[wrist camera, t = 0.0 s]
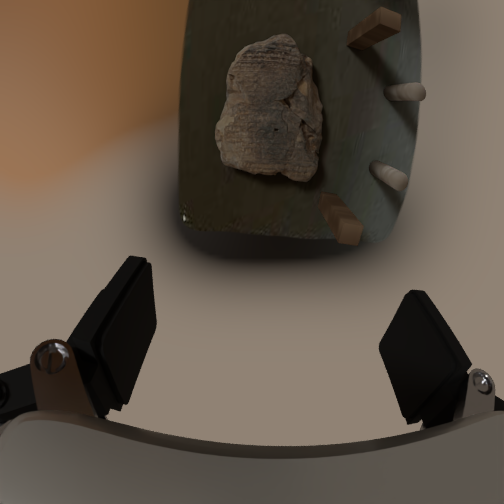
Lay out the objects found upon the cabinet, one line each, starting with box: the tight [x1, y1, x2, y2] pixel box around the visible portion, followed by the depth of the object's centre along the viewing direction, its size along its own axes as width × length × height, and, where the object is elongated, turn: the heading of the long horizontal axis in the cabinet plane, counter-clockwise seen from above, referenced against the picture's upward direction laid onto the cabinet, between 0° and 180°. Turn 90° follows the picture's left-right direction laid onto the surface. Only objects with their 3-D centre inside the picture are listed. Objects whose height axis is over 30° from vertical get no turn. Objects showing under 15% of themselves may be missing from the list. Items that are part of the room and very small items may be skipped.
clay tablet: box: [215, 34, 323, 182], centre depth 31 cm, size 14×5×20 cm
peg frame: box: [318, 7, 426, 246], centre depth 28 cm, size 27×9×12 cm, turn 172°
